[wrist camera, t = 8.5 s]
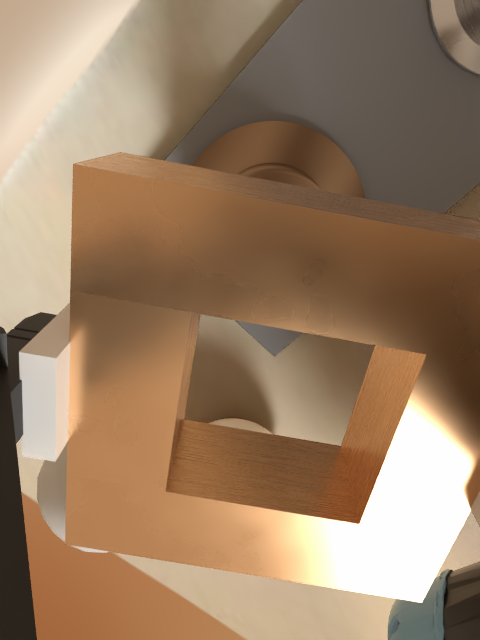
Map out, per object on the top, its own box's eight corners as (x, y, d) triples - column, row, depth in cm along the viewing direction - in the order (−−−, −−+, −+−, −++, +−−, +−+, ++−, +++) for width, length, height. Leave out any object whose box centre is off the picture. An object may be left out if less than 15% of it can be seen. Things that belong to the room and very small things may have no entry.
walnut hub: (388, 141, 29) (471, 156, 18) (336, 320, 35) (373, 422, 23) (191, 103, 29) (142, 93, 17) (169, 289, 34) (120, 378, 23)
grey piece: (60, 431, 42) (3, 519, 33) (80, 409, 41) (27, 493, 32) (146, 488, 44) (116, 584, 35) (167, 469, 43) (142, 563, 34)
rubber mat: (547, -281, 22) (561, -302, 21) (695, -10, 26) (713, -15, 25) (123, 211, 33) (118, 214, 32) (274, 349, 37) (274, 356, 36)
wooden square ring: (519, 228, 11) (601, 263, 9) (393, 516, 15) (421, 602, 13) (120, 152, 11) (72, 163, 8) (100, 466, 15) (65, 544, 12)
